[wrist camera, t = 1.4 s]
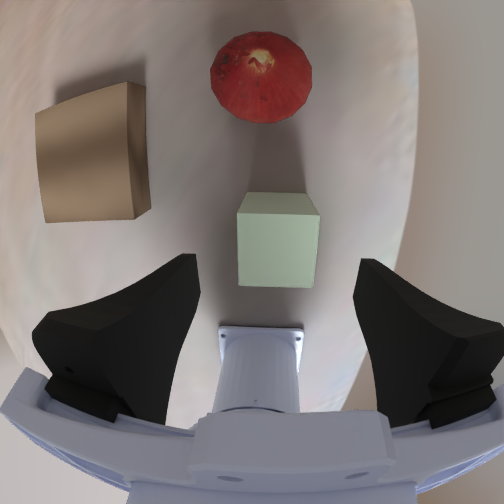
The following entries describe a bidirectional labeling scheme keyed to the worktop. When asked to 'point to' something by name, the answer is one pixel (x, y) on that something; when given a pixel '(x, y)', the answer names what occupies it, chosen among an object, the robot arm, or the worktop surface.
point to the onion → (261, 77)
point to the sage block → (277, 240)
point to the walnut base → (94, 156)
